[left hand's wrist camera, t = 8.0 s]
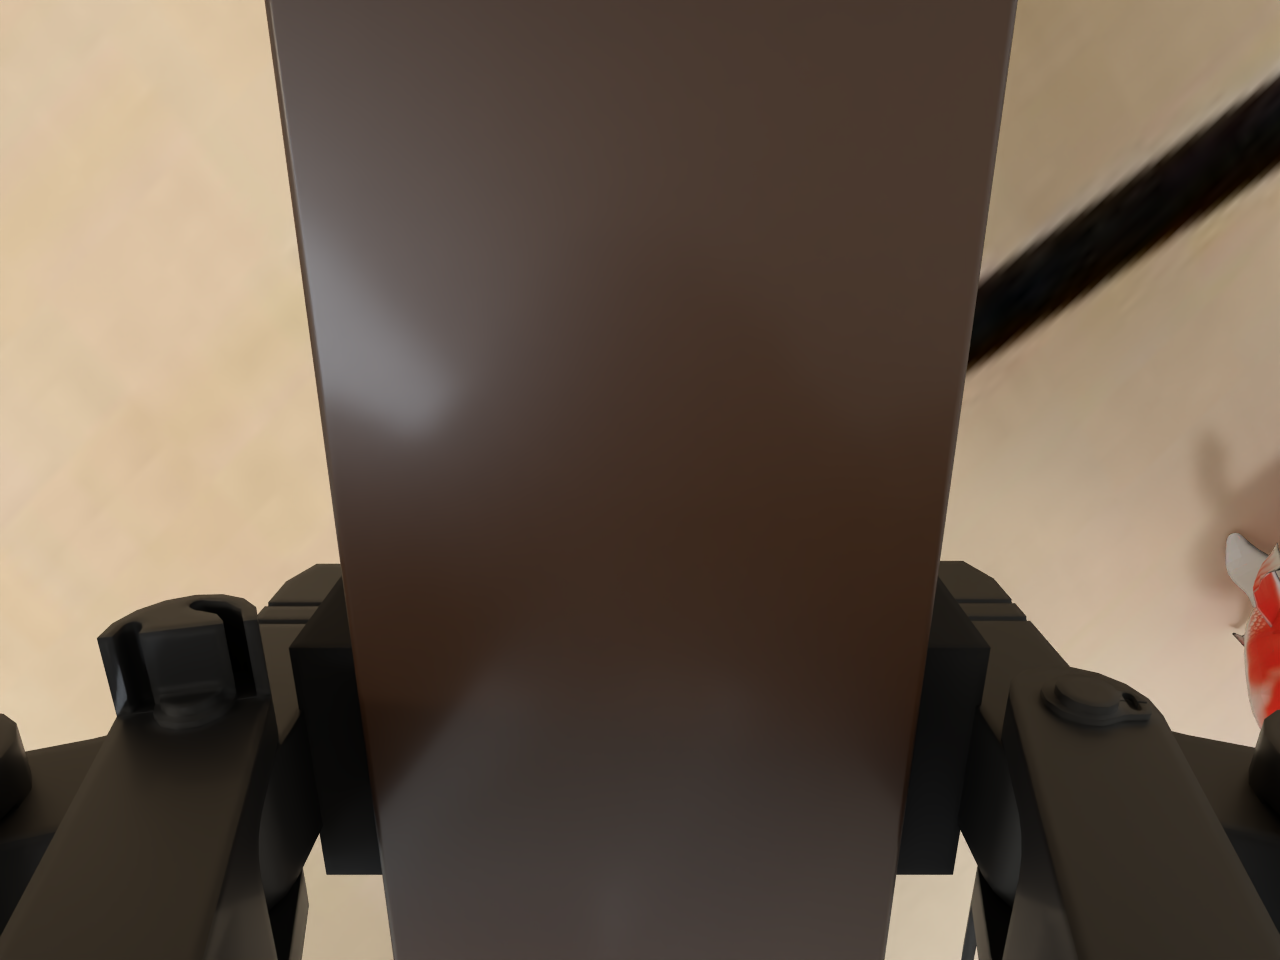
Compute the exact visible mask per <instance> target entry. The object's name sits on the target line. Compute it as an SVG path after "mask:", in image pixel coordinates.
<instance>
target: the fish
mask: <svg viewBox="0 0 1280 960" xmlns="http://www.w3.org/2000/svg"><path fill="white" fill-rule="evenodd" d="M1226 568H1227V572H1228V574H1229V576H1230V578H1231V579H1232V581H1233V582H1234V583H1235V584H1236V585H1237V586H1238V587H1239V588H1241V589H1242V590H1243V591H1244V592H1245V593H1246V595H1247V596H1248V597H1249V599H1250V601H1251V603H1252V606H1253V607H1254V610H1253V611H1252V613H1251V615H1250V617H1249V620H1248V622H1247V624H1246V630H1245V635H1243V636H1241V635H1238V634H1236V633H1233V635H1234V636H1235V637H1236V638H1237V639H1238V640H1239V642H1240V643H1241V644H1242V645H1243V646H1244V659H1245V672H1246V682H1247V689H1248V696H1249V701H1250V704H1251V708H1252V712H1253V715H1254V717H1255V719H1256V721H1257V723H1258V726H1259V728H1260V729H1261V728H1262V725H1263V722H1264V719H1265V718H1267V717H1268V716H1269V715H1271V714H1272V713H1273V712H1275V711H1276V710H1280V552H1279V549H1278V543H1277V544H1276V546H1275V547H1274V549H1273V551H1272V552H1271V554H1270V555H1267V554H1266V553H1264V552H1262V551H1260V550H1259V549H1257V548H1256V547H1255V546H1253V545H1252V544H1251V543H1250V542H1248V541H1247V540H1246V539H1245V538H1244V537H1243V536H1242V535H1240V534H1239V533H1233V534H1230V535H1229V536H1228V538H1227V542H1226Z"/></svg>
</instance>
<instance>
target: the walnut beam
mask: <svg viewBox="0 0 1280 960" xmlns="http://www.w3.org/2000/svg"><path fill="white" fill-rule="evenodd" d="M1017 2H1018V0H265V7H266V14H267V21H268V29H269V36H270V44H271V51H272V59H273V66H274V73H275V81H276V88H277V96H278V103H279V110H280V118H281V125H282V133H283V140H284V148H285V155H286V162H287V170H288V177H289V185H290V192H291V200H292V207H293V214H294V222H295V229H296V237H297V244H298V252H299V259H300V266H301V274H302V281H303V289H304V296H305V304H306V311H307V318H308V326H309V333H310V341H311V348H312V356H313V363H314V370H315V378H316V385H317V393H318V400H319V408H320V415H321V422H322V430H323V437H324V445H325V452H326V460H327V467H328V474H329V482H330V489H331V497H332V504H333V512H334V519H335V526H336V534H337V541H338V549H339V556H340V564H341V571H342V578H343V586H344V593H345V601H346V608H347V615H348V623H349V630H350V638H351V645H352V653H353V660H354V667H355V675H356V682H357V690H358V697H359V705H360V712H361V719H362V727H363V734H364V742H365V749H366V757H367V764H368V771H369V779H370V786H371V794H372V801H373V809H374V816H375V823H376V831H377V838H378V846H379V853H380V861H381V868H382V875H383V883H384V890H385V898H386V905H387V913H388V920H389V927H390V935H391V942H392V950H393V957H394V960H884V959H885V952H886V944H887V937H888V930H889V923H890V916H891V908H892V901H893V894H894V887H895V880H896V872H897V865H898V858H899V851H900V844H901V836H902V829H903V822H904V815H905V808H906V800H907V793H908V786H909V779H910V772H911V765H912V757H913V750H914V743H915V736H916V729H917V721H918V714H919V707H920V700H921V693H922V685H923V678H924V671H925V664H926V657H927V649H928V642H929V635H930V628H931V621H932V613H933V606H934V599H935V592H936V585H937V577H938V570H939V563H940V556H941V549H942V541H943V534H944V527H945V520H946V513H947V506H948V498H949V491H950V484H951V477H952V470H953V462H954V455H955V448H956V441H957V434H958V426H959V419H960V412H961V405H962V398H963V390H964V383H965V376H966V369H967V362H968V354H969V347H970V340H971V333H972V326H973V318H974V311H975V304H976V297H977V290H978V282H979V275H980V268H981V261H982V254H983V247H984V239H985V232H986V225H987V218H988V211H989V203H990V196H991V189H992V182H993V175H994V167H995V160H996V153H997V146H998V139H999V131H1000V124H1001V117H1002V110H1003V103H1004V95H1005V88H1006V81H1007V74H1008V67H1009V59H1010V52H1011V45H1012V38H1013V31H1014V23H1015V16H1016V9H1017Z"/></svg>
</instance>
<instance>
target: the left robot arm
mask: <svg viewBox="0 0 1280 960" xmlns="http://www.w3.org/2000/svg"><path fill="white" fill-rule="evenodd" d="M268 604H269V605H268V606H265V607H264V608H263V609H262V610H261V612H260V613H259V614H258V615H257V610H256V607H255V606H254V605H252V604H251V603H249V602H248V601H247V600H245V599H244V598H239V597H234V596H229V595H224V594H215V595H193V596H188V597H182V598H177V599H171V600H166V601H163V602H160V603H157V604H154V605H151V606H148V607H145V608H142V609H139V610H136V611H135V612H133V613H131V614H129V615H127V616H125V617H124V618H122V619H120V620H118V621H116V622H114V623H112V624H111V625H110V626H109V627H108V628H107V629H106V630H105V631H104V632H103V633H102V634H101V635H100V636H99V637H98V638H97V640H98V644H99V648H100V652H101V656H102V660H103V664H104V668H105V672H106V675H107V679H108V683H109V687H110V691H111V695H112V699H113V703H114V706H115V710H116V714H117V718H116V720H115V721H114V723H113V725H112V727H111V729H110V731H109V733H108V735H107V736H103V737H98V738H94V739H90V740H84V741H79V742H74V743H69V744H63V745H58V746H53V747H48V748H42V749H37V750H32V751H26V752H25V750H24V747H23V744H22V740H21V737H20V734H19V731H18V727H17V724H16V723H15V722H14V721H12V720H11V719H10V718H8V717H7V716H6V715H4V714H0V960H302V953H303V945H304V938H305V930H306V923H307V915H308V908H309V903H308V896H307V889H306V883H305V878H304V872H303V866H304V864H305V862H306V860H307V858H308V856H309V854H310V852H311V850H312V847H313V845H314V843H315V841H316V839H317V837H318V835H319V833H320V838H321V844H322V850H323V856H324V862H325V868H326V874H327V875H382V868H381V861H380V853H379V846H378V838H377V831H376V823H375V816H374V809H373V801H372V794H371V786H370V779H369V771H368V764H367V757H366V749H365V742H364V734H363V727H362V719H361V712H360V705H359V697H358V690H357V682H356V675H355V667H354V660H353V653H352V645H351V638H350V630H349V623H348V615H347V608H346V601H345V593H344V586H343V578H342V571H341V564H316V565H314V566H312V567H311V568H309V569H307V570H305V571H304V572H302V573H300V574H298V575H297V576H295V577H293V578H292V579H290V580H288V581H286V582H285V584H284V585H283V586H282V587H281V588H280V589H279V591H278V592H277V593H276V594H275V595H274V596H273V598H272V599H271V600H270V601H269V602H268ZM960 830H961V832H962V834H963V836H964V838H965V840H966V842H967V844H968V846H969V848H970V850H971V853H972V855H973V857H974V859H975V861H976V863H977V865H978V867H977V872H976V878H975V883H974V889H973V894H972V900H971V906H970V911H969V917H968V922H967V928H966V933H965V939H964V945H963V952H962V959H961V960H974V955H975V950H976V946H977V951H978V958H979V960H1280V710H1276V711H1275V712H1273V713H1272V714H1271V715H1269V716H1268V717H1267V718H1265V719H1264V722H1263V725H1262V728H1261V731H1260V735H1259V738H1258V741H1257V744H1256V748H1253V747H1248V746H1243V745H1237V744H1232V743H1227V742H1221V741H1216V740H1211V739H1205V738H1200V737H1195V736H1189V735H1185V734H1181V733H1177V732H1173V731H1171V729H1170V727H1169V726H1168V724H1167V722H1166V720H1165V718H1164V716H1163V715H1162V714H1161V712H1160V711H1159V710H1158V709H1157V708H1156V707H1155V706H1154V704H1153V703H1152V702H1151V701H1150V700H1149V699H1148V698H1147V697H1145V696H1143V695H1142V694H1140V693H1139V692H1137V691H1136V690H1134V689H1133V688H1131V687H1130V686H1128V685H1126V684H1124V683H1122V682H1119V681H1117V680H1114V679H1112V678H1109V677H1107V676H1104V675H1102V674H1099V673H1095V672H1091V671H1086V670H1082V669H1077V668H1073V667H1070V666H1069V665H1068V664H1067V663H1066V662H1065V661H1064V659H1063V658H1062V657H1061V656H1060V655H1059V654H1058V653H1057V651H1056V650H1055V649H1054V648H1053V647H1052V646H1051V644H1050V643H1049V642H1048V641H1047V640H1046V639H1045V638H1044V636H1043V635H1042V634H1041V633H1040V632H1039V631H1038V629H1037V628H1036V627H1035V626H1034V625H1033V624H1032V622H1031V621H1027V620H1026V616H1025V614H1024V613H1023V612H1022V611H1021V610H1020V609H1019V607H1018V606H1017V605H1016V604H1015V603H1012V602H1011V598H1010V597H1009V596H1008V595H1007V594H1006V592H1005V591H1004V590H1003V589H1002V588H1001V587H1000V585H999V584H998V583H997V582H996V581H995V580H994V579H993V578H992V577H990V576H988V575H986V574H985V573H983V572H981V571H979V570H978V569H976V568H974V567H972V566H971V565H969V564H967V563H965V562H964V561H940V563H939V570H938V577H937V585H936V592H935V599H934V606H933V613H932V621H931V628H930V635H929V642H928V649H927V657H926V664H925V671H924V678H923V685H922V693H921V700H920V707H919V714H918V721H917V729H916V736H915V743H914V750H913V757H912V765H911V772H910V779H909V786H908V793H907V800H906V808H905V815H904V822H903V829H902V836H901V844H900V851H899V858H898V865H897V872H896V875H953V871H954V865H955V859H956V853H957V847H958V841H959V835H960Z"/></svg>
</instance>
